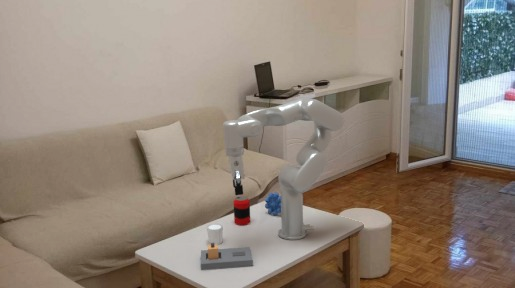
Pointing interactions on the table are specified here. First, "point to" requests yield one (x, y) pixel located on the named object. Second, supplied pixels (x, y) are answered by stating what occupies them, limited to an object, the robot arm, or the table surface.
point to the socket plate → (227, 258)
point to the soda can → (241, 211)
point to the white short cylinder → (215, 233)
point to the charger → (213, 251)
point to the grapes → (273, 203)
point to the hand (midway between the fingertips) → (238, 190)
